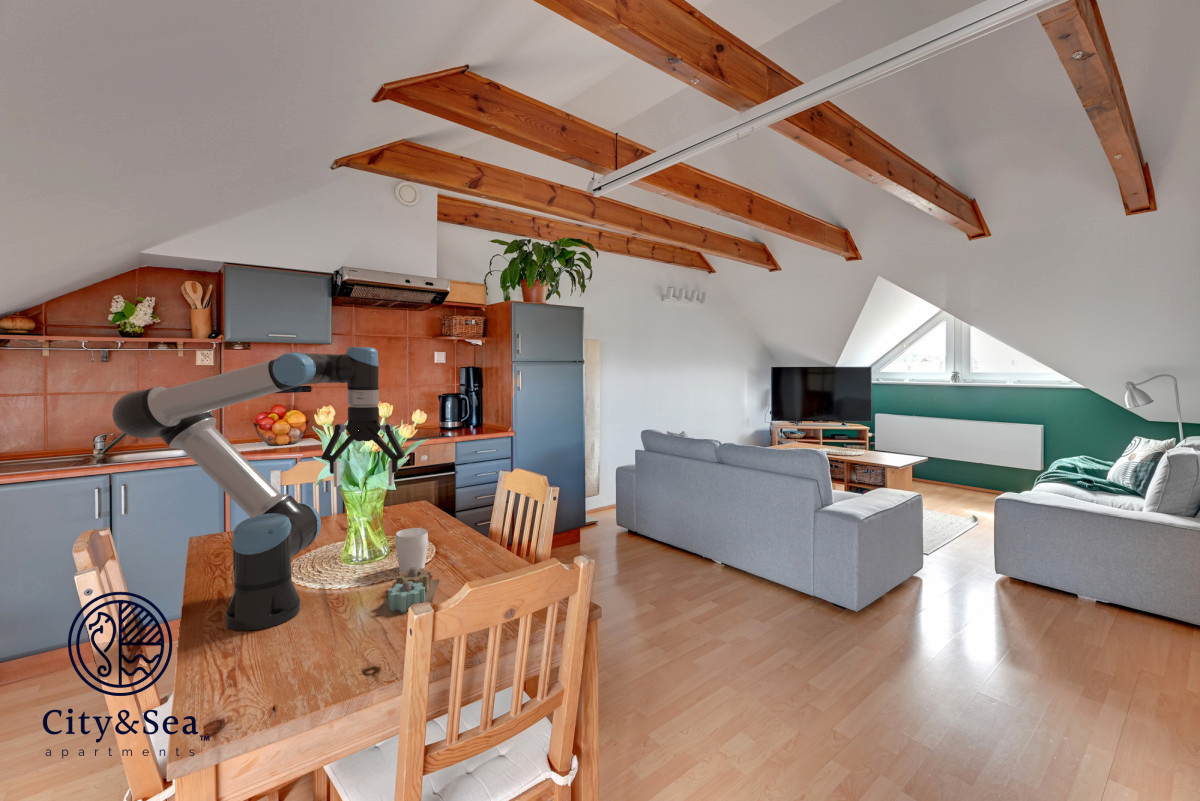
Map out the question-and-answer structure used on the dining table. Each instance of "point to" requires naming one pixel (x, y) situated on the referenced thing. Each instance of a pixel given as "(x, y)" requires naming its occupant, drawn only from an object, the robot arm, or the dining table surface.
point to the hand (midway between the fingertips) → (364, 485)
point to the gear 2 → (405, 596)
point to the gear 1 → (415, 578)
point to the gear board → (427, 599)
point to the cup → (411, 548)
